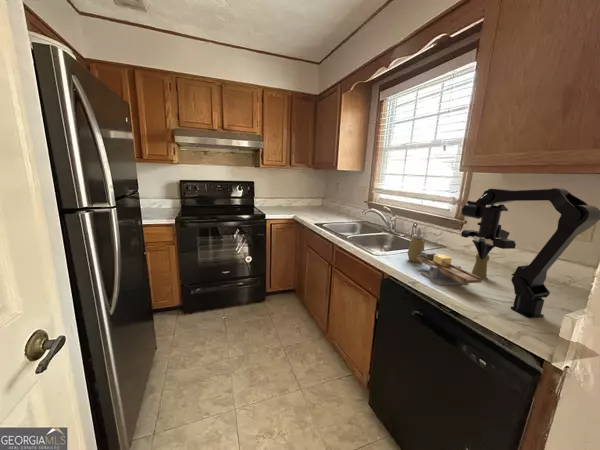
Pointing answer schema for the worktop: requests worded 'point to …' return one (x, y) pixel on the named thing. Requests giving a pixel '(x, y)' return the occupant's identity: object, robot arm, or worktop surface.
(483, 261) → the cork
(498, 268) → the worktop surface
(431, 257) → the counterweight
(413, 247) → the squeeze bottle
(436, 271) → the pivot stand
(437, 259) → the block
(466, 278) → the balance beam
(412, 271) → the worktop surface
